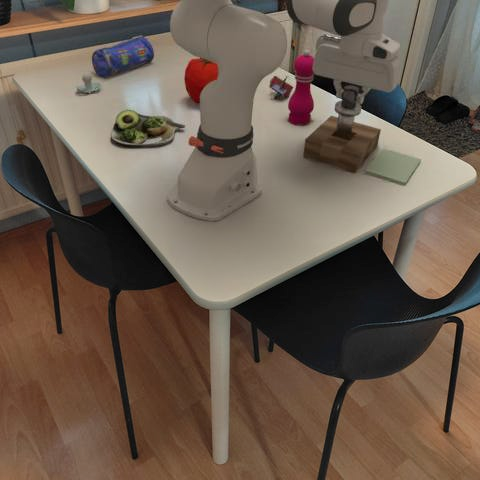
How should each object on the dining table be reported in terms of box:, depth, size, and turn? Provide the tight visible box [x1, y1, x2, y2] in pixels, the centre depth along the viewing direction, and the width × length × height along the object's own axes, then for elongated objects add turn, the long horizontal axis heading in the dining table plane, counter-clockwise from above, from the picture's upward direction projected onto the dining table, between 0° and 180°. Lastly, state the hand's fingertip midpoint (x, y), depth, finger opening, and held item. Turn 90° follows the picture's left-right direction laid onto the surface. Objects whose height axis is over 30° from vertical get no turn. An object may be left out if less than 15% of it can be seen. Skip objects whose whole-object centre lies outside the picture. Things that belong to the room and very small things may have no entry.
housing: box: [302, 115, 382, 174], centre depth 129 cm, size 16×14×5 cm
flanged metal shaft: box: [334, 85, 362, 134], centre depth 123 cm, size 6×6×11 cm
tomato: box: [183, 57, 218, 105], centre depth 147 cm, size 13×13×13 cm
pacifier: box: [76, 72, 101, 94], centre depth 153 cm, size 7×6×6 cm
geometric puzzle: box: [268, 75, 295, 100], centre depth 154 cm, size 7×7×8 cm
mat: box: [364, 148, 422, 186], centre depth 125 cm, size 13×10×1 cm
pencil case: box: [91, 34, 155, 78], centre depth 167 cm, size 22×9×10 cm, turn 141°
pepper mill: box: [287, 49, 315, 126], centre depth 137 cm, size 7×7×20 cm
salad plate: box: [110, 109, 186, 148], centre depth 134 cm, size 19×18×5 cm
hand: (349, 100), depth 121 cm, fingers closed on flanged metal shaft, 4 cm apart
